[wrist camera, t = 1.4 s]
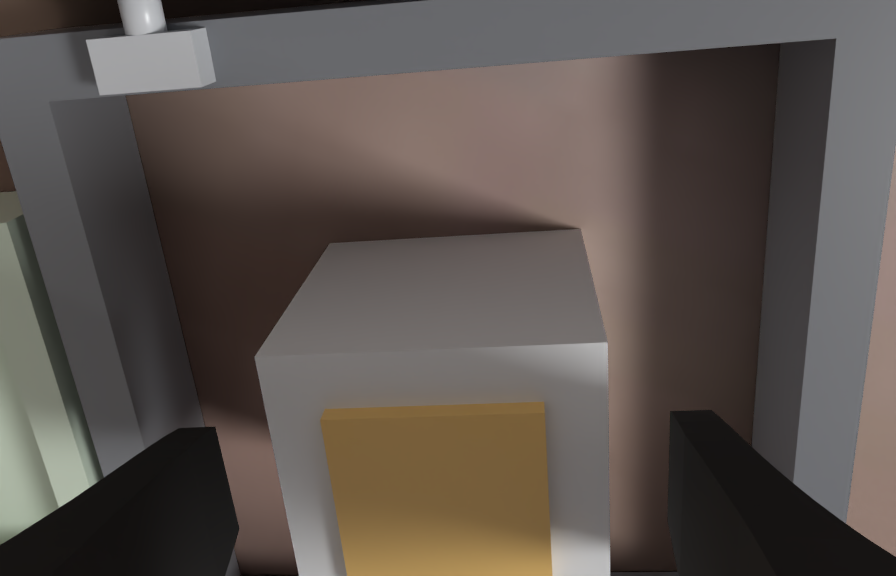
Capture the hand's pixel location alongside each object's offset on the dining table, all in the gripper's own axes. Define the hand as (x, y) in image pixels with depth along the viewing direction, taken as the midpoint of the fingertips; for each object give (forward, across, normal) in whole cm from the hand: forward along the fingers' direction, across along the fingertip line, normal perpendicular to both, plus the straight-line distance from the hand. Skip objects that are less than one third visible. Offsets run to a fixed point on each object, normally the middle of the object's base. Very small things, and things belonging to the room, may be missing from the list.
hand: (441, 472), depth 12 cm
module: (+4, 0, 0) cm, 5 cm away
